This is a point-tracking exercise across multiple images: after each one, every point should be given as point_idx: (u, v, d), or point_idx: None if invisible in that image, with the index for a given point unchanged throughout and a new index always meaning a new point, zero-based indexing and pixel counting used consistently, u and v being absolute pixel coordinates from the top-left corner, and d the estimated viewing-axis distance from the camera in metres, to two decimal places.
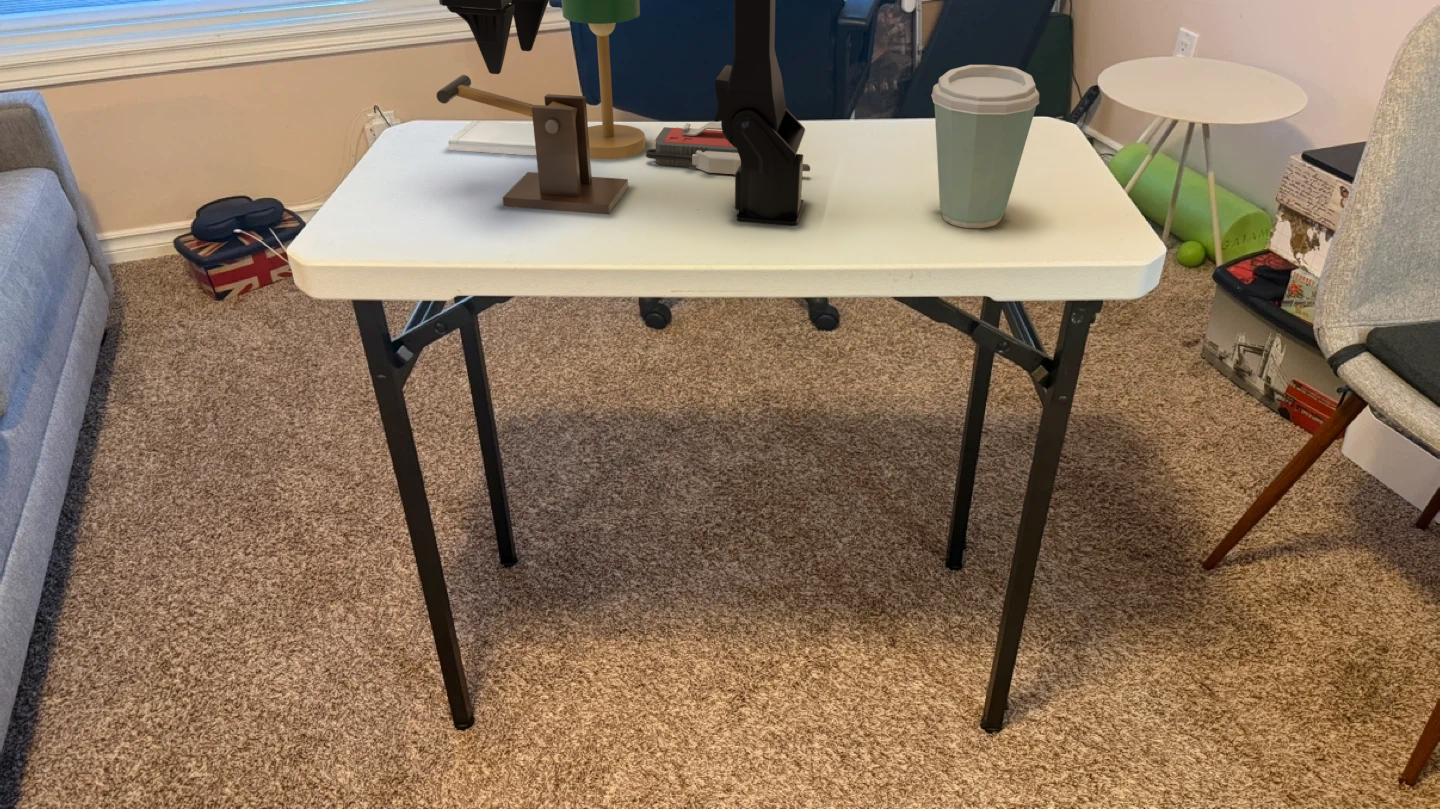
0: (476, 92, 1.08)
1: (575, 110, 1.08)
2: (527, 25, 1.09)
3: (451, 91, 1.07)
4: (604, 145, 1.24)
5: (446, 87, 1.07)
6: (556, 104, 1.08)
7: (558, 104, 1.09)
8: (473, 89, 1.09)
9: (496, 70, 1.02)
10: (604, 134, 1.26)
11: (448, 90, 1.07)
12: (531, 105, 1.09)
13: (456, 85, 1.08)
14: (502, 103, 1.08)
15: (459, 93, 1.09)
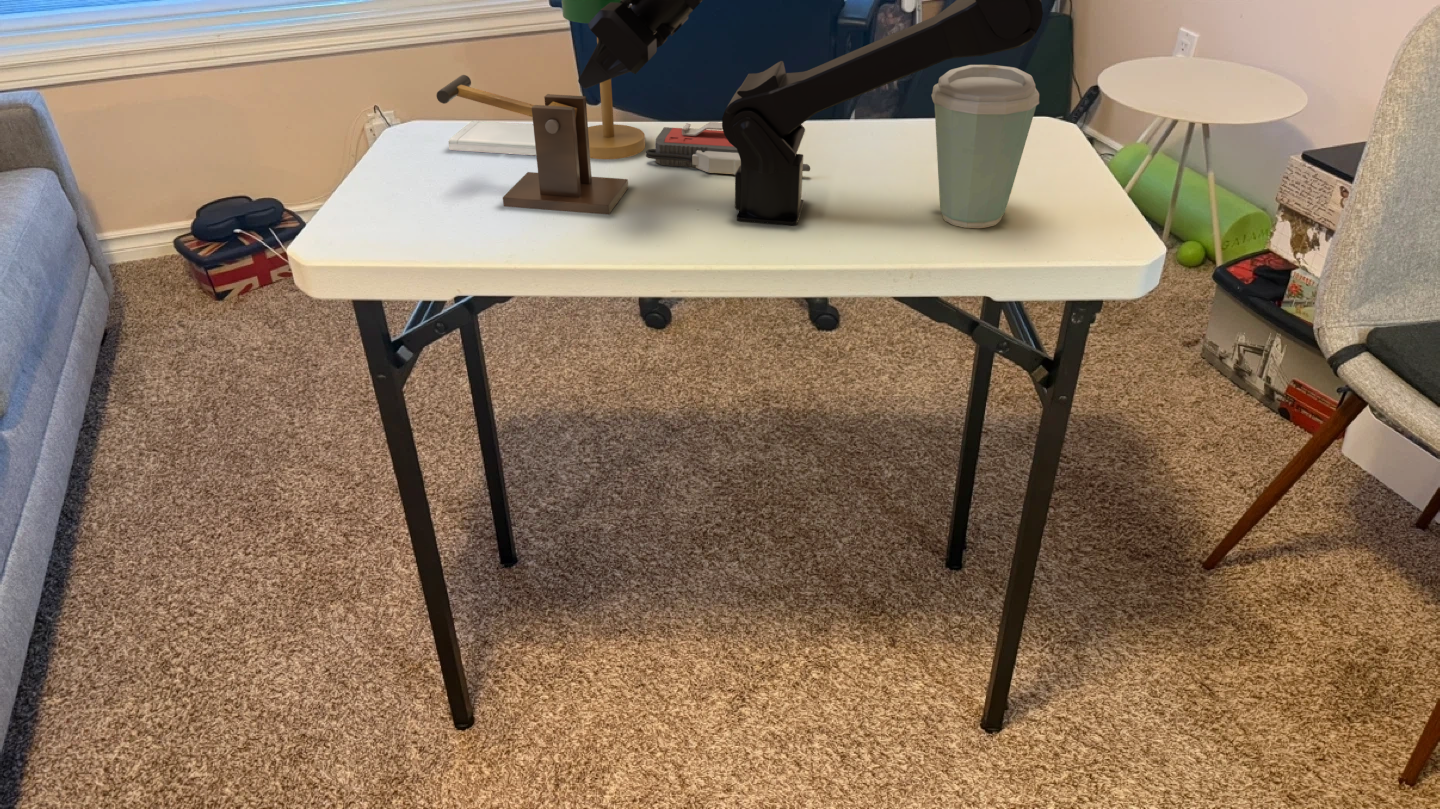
0: (476, 92, 1.08)
1: (575, 110, 1.08)
2: None
3: (451, 91, 1.07)
4: (604, 145, 1.24)
5: (446, 87, 1.07)
6: (556, 104, 1.08)
7: (558, 104, 1.09)
8: (473, 89, 1.09)
9: (585, 84, 1.03)
10: (604, 134, 1.26)
11: (448, 90, 1.07)
12: (531, 105, 1.09)
13: (456, 85, 1.08)
14: (502, 103, 1.08)
15: (459, 93, 1.09)
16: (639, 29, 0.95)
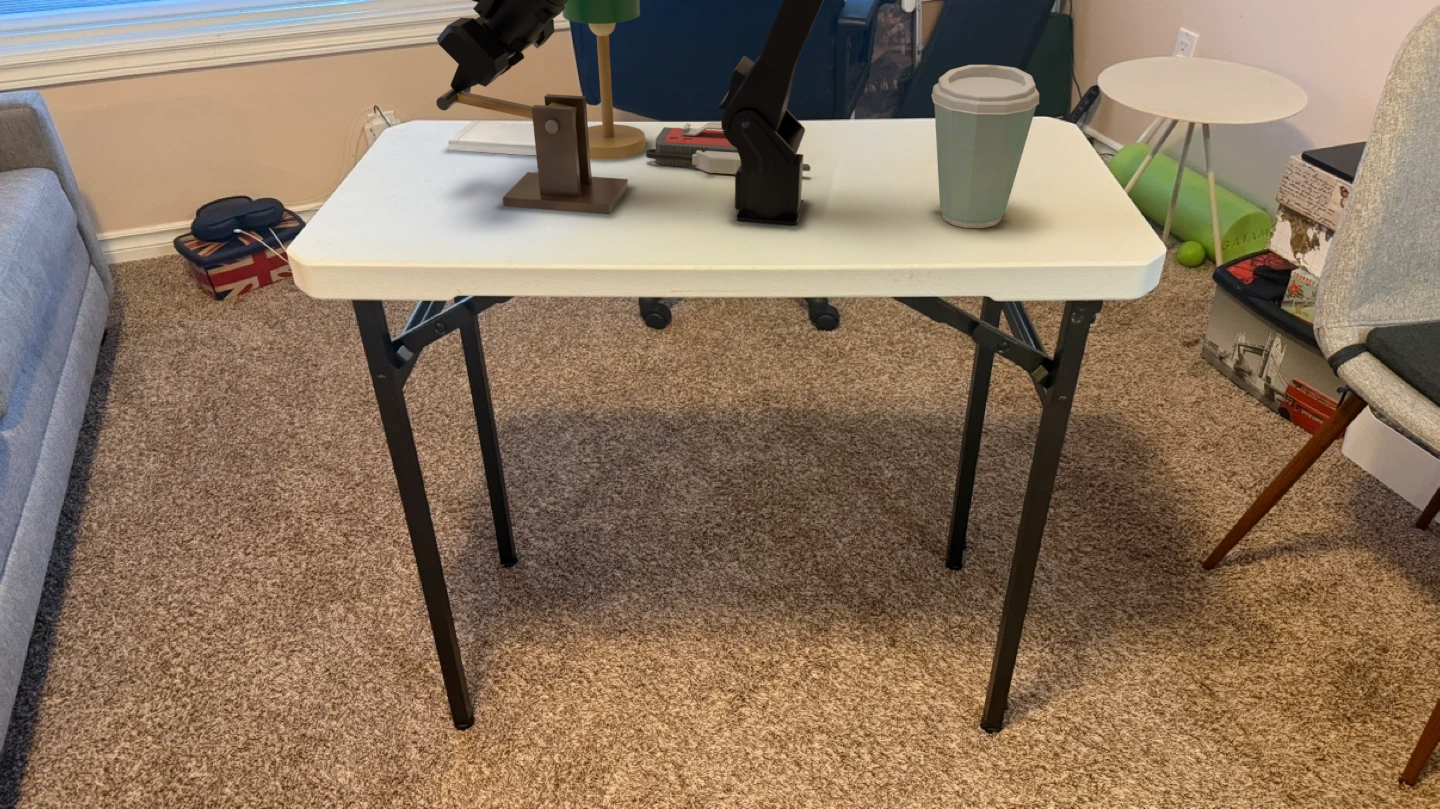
0: (476, 97, 1.09)
1: None
2: None
3: (450, 98, 1.08)
4: (604, 145, 1.24)
5: (446, 94, 1.08)
6: (555, 104, 1.08)
7: (557, 104, 1.09)
8: (473, 95, 1.09)
9: (457, 89, 1.09)
10: (604, 134, 1.26)
11: (447, 97, 1.07)
12: (531, 107, 1.09)
13: (455, 92, 1.09)
14: (502, 106, 1.09)
15: (459, 99, 1.09)
16: (488, 43, 0.98)
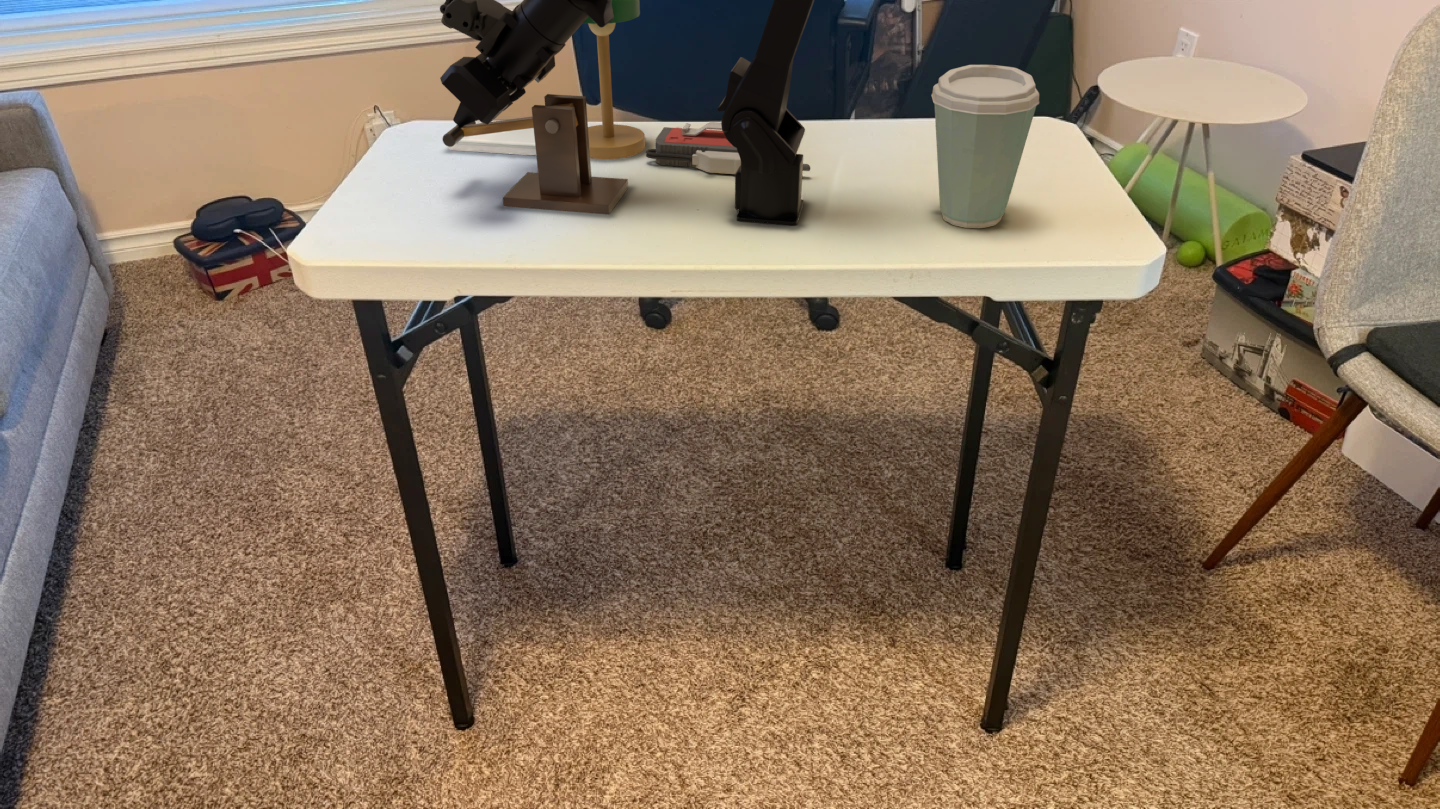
0: (478, 125, 1.10)
1: (571, 105, 1.08)
2: None
3: (455, 133, 1.10)
4: (604, 145, 1.24)
5: (450, 131, 1.10)
6: None
7: None
8: (476, 124, 1.11)
9: (459, 123, 1.11)
10: (604, 134, 1.26)
11: (451, 133, 1.09)
12: (530, 117, 1.09)
13: (459, 127, 1.11)
14: (504, 125, 1.10)
15: (464, 133, 1.11)
16: (490, 82, 1.00)
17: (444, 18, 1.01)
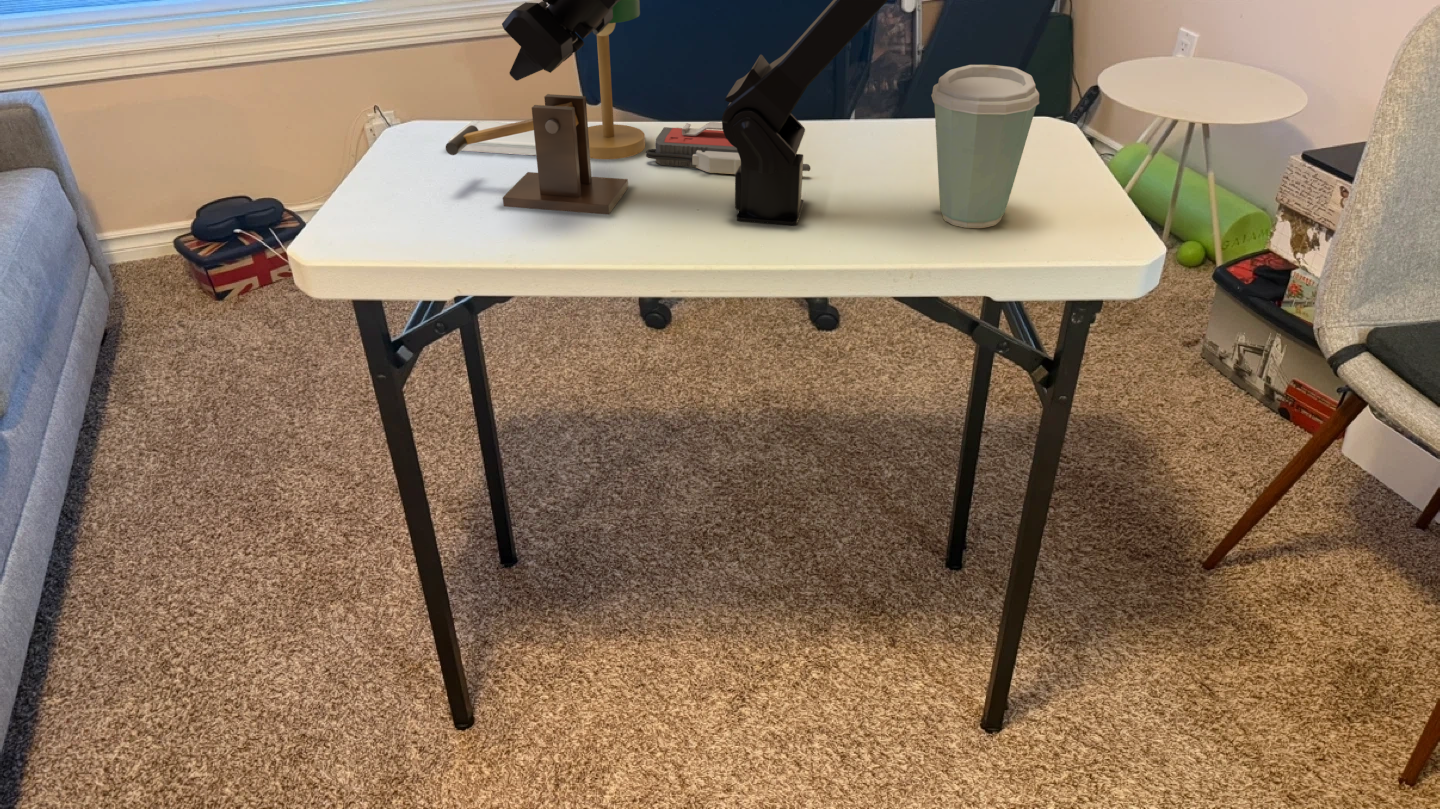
0: (480, 132, 1.11)
1: (569, 104, 1.08)
2: None
3: (457, 141, 1.10)
4: (604, 145, 1.24)
5: (452, 139, 1.10)
6: None
7: None
8: (478, 131, 1.11)
9: (516, 77, 1.07)
10: (604, 134, 1.26)
11: (454, 141, 1.10)
12: (531, 119, 1.10)
13: (462, 135, 1.11)
14: (505, 130, 1.10)
15: (467, 141, 1.12)
16: (553, 28, 0.96)
17: None
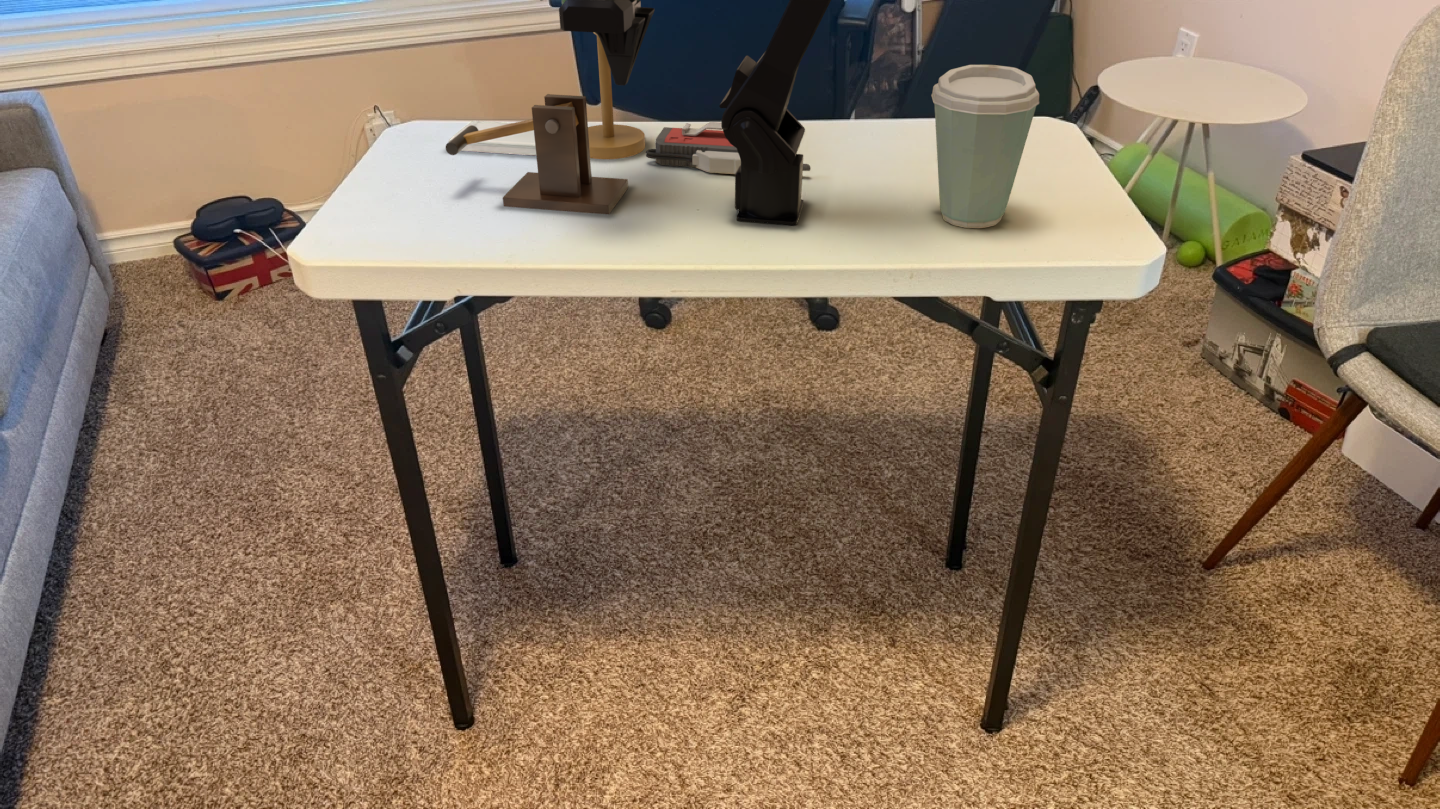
0: (480, 132, 1.11)
1: (569, 104, 1.08)
2: None
3: (457, 141, 1.10)
4: (604, 145, 1.24)
5: (452, 139, 1.10)
6: None
7: None
8: (478, 131, 1.11)
9: (622, 81, 1.05)
10: (604, 134, 1.26)
11: (454, 141, 1.10)
12: (531, 119, 1.10)
13: (462, 135, 1.11)
14: (505, 130, 1.10)
15: (467, 141, 1.12)
16: None
17: None
